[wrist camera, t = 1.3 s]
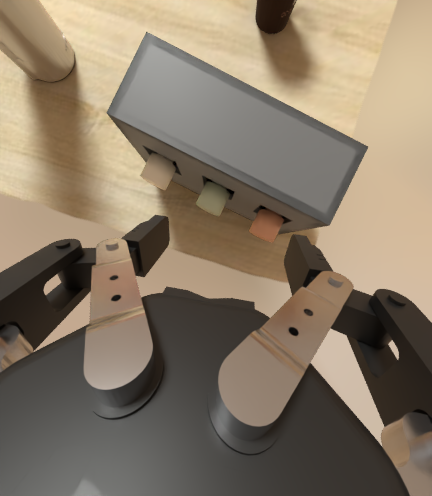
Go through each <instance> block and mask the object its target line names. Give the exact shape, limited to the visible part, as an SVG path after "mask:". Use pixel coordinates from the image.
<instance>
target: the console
mask: <svg viewBox="0 0 432 496" xmlns="http://www.w3.org/2000/svg"><path fill="white" fill-rule="evenodd" d="M107 114H108V115H109V117H110V118H111V119H112V120H113V122H114V123H115V124H116V125H117V127H118V128H119V129H120V130H121V132H122V133H123V134H124V135H125V137H126V138H127V139H128V140H129V142H130V143H131V144H132V145H133V147H134V148H135V149H136V150H137V152H138V153H139V154H140V155H141V157H142V158H143V159H144V160H145V162H146V163H147V161H148V159H149V157H150V155H151V153H155V154H158V153H159V154H161V155H163V156H165V157H167V158H169V159H171V160H173V161H175V162H176V164H177V166H178V167H177V166H175V165H174V166H175V167H176V171H175V173H174V175H173V177H172V179H171V180H172V181H174V182H176V183H178V184H180V185H182V186H184V187H186V188H188V189H190V190H192V191H194V192H196V193H198V194H201V192H202V190H203V188H204V186H205V184H206V182H207V181H206V177H207V178H209V179H211V180H213V181H215V182H217V183H219V184H221V185H223V186H225V187H226V188H228V189H230V190H232V191H234V195H233V194H231V193H230V196H229V198H228V200H227V202H226V204H225V206H224V207H226V208H228V209H230V210H232V211H234V212H236V213H238V214H240V215H242V216H244V217H246V218H248V219H250V220H252V221H254V220H255V218H256V215H257V213H258V211H259V210H260V208H258V207H259V206H260V205H262V206H264V207H266V208H268V209H270V210H272V211H274V212H276V213H278V214H280V215H282V218H283V219H284V222H283V224H282V226H281V228H280V230H279V232H278V234H283V233H289V232H294V231H300V230H306V229H312V228H317V227H323V226H328V225H330V223H331V221H332V219H333V217H334V215H335V213H336V211H337V209H338V207H339V205H340V203H341V201H342V199H343V197H344V195H345V193H346V191H347V189H348V187H349V185H350V183H351V181H352V179H353V177H354V175H355V173H356V171H357V169H358V167H359V165H360V163H361V161H362V159H363V157H364V154H365V153H366V151H367V149H368V146H366V145H364V144H362V143H360V142H358V141H356V140H354V139H352V138H350V137H348V136H347V135H345V134H343V133H341V132H339V131H337V130H335V129H333V128H331V127H329V126H327V125H325V124H323V123H321V122H320V121H318V120H316V119H314V118H312V117H310V116H308V115H306V114H304V113H302V112H300V111H298V110H296V109H294V108H293V107H291V106H289V105H287V104H285V103H283V102H281V101H279V100H277V99H275V98H273V97H271V96H269V95H267V94H266V93H264V92H262V91H260V90H258V89H256V88H254V87H252V86H250V85H248V84H246V83H244V82H242V81H240V80H239V79H237V78H235V77H233V76H231V75H229V74H227V73H225V72H223V71H221V70H219V69H217V68H215V67H213V66H212V65H210V64H208V63H206V62H204V61H202V60H200V59H198V58H196V57H194V56H192V55H190V54H188V53H186V52H185V51H183V50H181V49H179V48H177V47H175V46H173V45H171V44H169V43H167V42H165V41H163V40H161V39H159V38H158V37H156V36H154V35H152V34H150V33H148V32H146V34H145V36H144V38H143V40H142V42H141V44H140V46H139V48H138V50H137V52H136V54H135V56H134V58H133V60H132V62H131V64H130V66H129V68H128V70H127V72H126V75H125V77H124V79H123V81H122V83H121V85H120V87H119V89H118V91H117V93H116V95H115V97H114V99H113V101H112V103H111V105H110V107H109V109H108V111H107Z"/></svg>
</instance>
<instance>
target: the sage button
mask: <svg viewBox="0 0 432 496" xmlns="http://www.w3.org/2000/svg"><path fill="white" fill-rule="evenodd" d="M229 196H230V193H229V192H228V191H227V188H226V187H225V186H223V185H221V184H219V183H217V182H215V181H213V182H206V184H205V186H204V188H203V190H202V192H201V194H200V196H199V198H198V200H197V202H196V205H197V206H198V207H200V208H201V209H203V210H204V211H206V212H208V213H210V214H213V215H215V216H220V214H221V212H222V210H223V208H224V206H225V204H226V202H227V200H228V198H229Z"/></svg>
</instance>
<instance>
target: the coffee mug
mask: <svg viewBox="0 0 432 496" xmlns="http://www.w3.org/2000/svg"><path fill="white" fill-rule="evenodd" d="M296 1H297V0H257V7H256V22H257V25H258V27H259V28H260V29H261V30H262V31H264V32H266V33H269V34H275V33H278V32H280V31H281V30H283V28H284V27H285V26H286V24H287V21H288V19H289V17H290V14H291V12H292V10H293V8H294V5H295V3H296Z"/></svg>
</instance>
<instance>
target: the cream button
mask: <svg viewBox="0 0 432 496" xmlns="http://www.w3.org/2000/svg"><path fill="white" fill-rule="evenodd" d="M173 162H174V161H173V160H171V159H169V158H167V157H165V156H163V155H161V154H159V153H158V154H155V153H151V155H150V157H149V159H148V161H147V163H146V165H145V167H144V169H143V171H142V173H141V175H140V176H141V177H142V178H143V179H145V180H146V181H147V182H149V183H151V184H152V185H154V186H156V187H158V188H160V189H163V190H166V189H167V187H168V185H169V183H170V181H171V179H172V177H173V175H174V173H175V171H176V167H175V166H174V165H173Z"/></svg>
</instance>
